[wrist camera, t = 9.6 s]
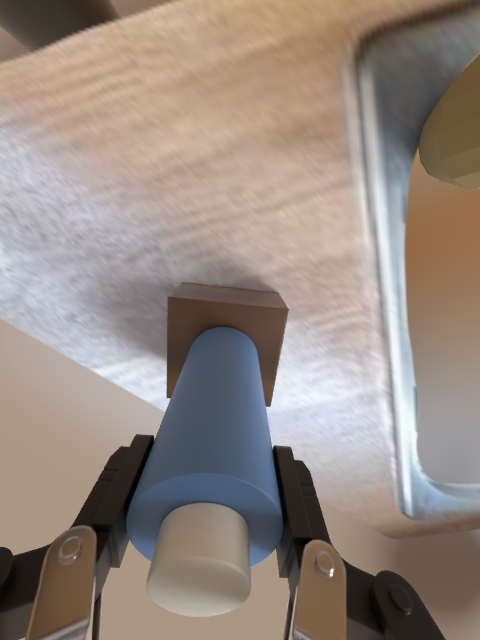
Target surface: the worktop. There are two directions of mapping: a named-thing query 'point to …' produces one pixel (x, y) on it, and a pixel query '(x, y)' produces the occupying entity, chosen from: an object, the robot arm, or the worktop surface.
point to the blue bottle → (209, 482)
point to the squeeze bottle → (455, 132)
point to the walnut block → (225, 325)
